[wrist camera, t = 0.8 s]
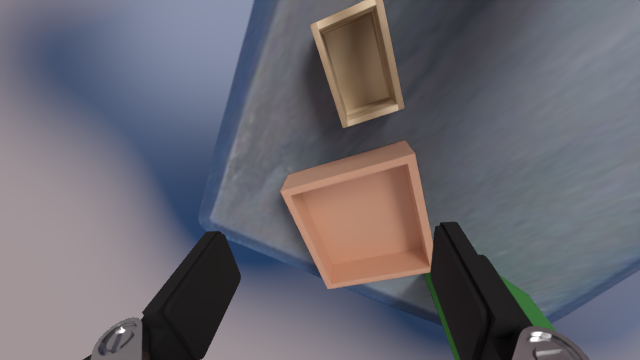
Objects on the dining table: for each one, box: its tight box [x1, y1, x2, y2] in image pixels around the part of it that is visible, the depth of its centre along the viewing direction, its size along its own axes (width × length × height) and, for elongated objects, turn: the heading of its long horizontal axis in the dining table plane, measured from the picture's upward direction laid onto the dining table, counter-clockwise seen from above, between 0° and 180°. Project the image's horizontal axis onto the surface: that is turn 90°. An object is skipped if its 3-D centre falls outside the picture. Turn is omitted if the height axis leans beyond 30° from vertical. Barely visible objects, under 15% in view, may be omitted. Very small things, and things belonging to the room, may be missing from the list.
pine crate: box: [310, 0, 405, 128], centre depth 26 cm, size 6×10×6 cm, turn 20°
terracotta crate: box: [280, 140, 433, 289], centre depth 35 cm, size 17×19×5 cm
